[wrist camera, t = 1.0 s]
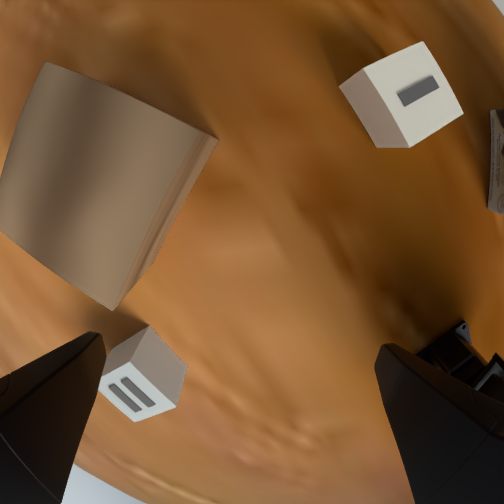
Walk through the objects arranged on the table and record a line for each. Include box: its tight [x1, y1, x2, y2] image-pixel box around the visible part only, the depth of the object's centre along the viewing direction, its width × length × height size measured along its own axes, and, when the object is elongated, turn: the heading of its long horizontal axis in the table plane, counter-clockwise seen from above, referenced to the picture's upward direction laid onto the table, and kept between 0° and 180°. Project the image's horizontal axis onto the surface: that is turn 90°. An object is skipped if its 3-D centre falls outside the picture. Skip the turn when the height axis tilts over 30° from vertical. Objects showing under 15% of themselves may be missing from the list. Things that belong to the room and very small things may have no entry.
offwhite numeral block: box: [338, 41, 464, 148], centre depth 15 cm, size 5×5×5 cm
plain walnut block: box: [0, 61, 219, 311], centre depth 16 cm, size 10×10×8 cm
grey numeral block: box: [98, 325, 188, 422], centre depth 22 cm, size 5×5×5 cm
